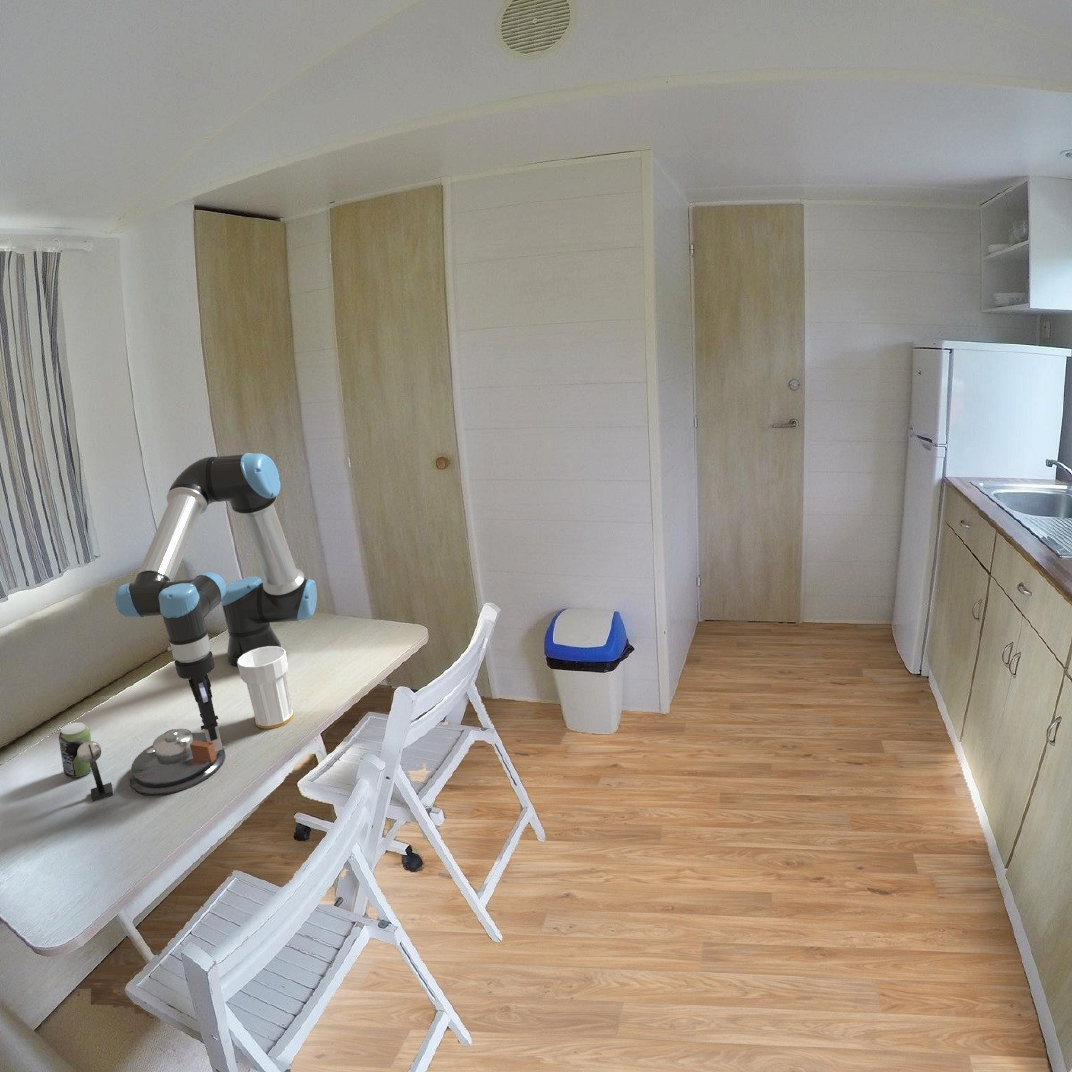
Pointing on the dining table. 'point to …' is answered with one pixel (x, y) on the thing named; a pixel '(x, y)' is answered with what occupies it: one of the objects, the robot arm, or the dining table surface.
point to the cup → (267, 685)
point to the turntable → (174, 765)
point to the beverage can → (74, 748)
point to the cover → (173, 746)
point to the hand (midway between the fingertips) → (216, 749)
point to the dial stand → (94, 769)
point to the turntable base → (180, 786)
